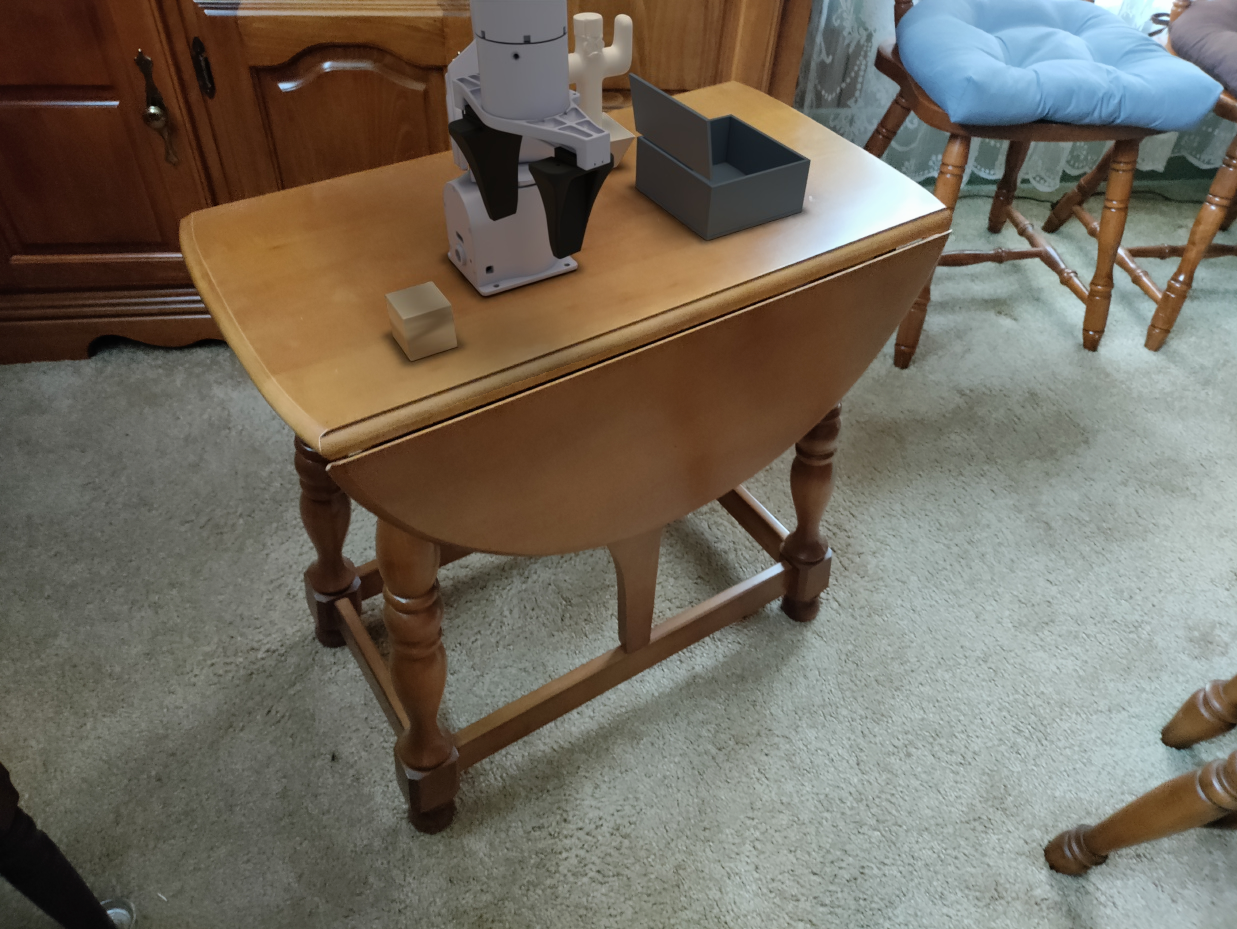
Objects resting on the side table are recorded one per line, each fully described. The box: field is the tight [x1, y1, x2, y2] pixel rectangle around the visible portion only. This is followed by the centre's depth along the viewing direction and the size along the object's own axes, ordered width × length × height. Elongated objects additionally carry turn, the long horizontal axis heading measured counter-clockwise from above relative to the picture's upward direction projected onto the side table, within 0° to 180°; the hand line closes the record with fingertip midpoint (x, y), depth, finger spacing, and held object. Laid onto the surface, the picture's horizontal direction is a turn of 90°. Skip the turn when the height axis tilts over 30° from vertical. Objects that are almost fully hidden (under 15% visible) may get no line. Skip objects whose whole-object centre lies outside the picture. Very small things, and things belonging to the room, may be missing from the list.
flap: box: [628, 72, 713, 181], centre depth 80 cm, size 6×13×1 cm
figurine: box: [568, 12, 637, 169], centre depth 89 cm, size 7×9×15 cm
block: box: [384, 280, 458, 362], centre depth 68 cm, size 4×4×4 cm
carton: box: [634, 113, 812, 242], centre depth 86 cm, size 12×13×5 cm
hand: (534, 234), depth 62 cm, fingers open, 7 cm apart
